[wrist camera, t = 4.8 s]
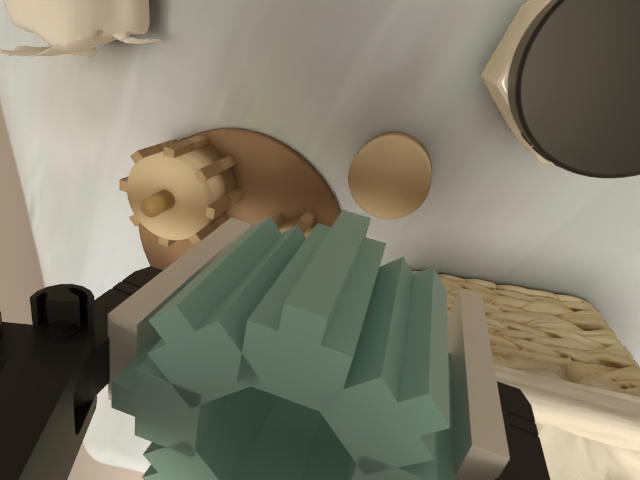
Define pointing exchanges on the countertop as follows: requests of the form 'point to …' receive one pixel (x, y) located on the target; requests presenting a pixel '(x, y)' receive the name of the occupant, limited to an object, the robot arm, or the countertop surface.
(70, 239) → the countertop surface
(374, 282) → the gear
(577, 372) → the storage basket
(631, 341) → the countertop surface
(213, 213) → the carrier
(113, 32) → the elephant figurine
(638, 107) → the jar
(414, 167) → the stand
